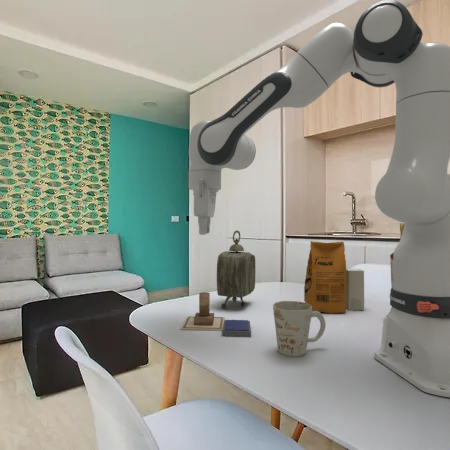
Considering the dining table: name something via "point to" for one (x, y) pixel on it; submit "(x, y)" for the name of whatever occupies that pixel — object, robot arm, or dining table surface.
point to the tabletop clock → (235, 273)
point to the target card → (190, 325)
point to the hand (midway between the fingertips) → (204, 234)
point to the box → (354, 289)
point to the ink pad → (236, 328)
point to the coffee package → (326, 278)
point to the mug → (295, 326)
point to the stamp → (204, 311)
